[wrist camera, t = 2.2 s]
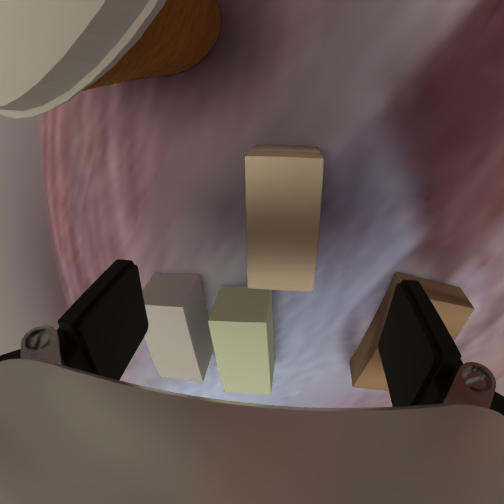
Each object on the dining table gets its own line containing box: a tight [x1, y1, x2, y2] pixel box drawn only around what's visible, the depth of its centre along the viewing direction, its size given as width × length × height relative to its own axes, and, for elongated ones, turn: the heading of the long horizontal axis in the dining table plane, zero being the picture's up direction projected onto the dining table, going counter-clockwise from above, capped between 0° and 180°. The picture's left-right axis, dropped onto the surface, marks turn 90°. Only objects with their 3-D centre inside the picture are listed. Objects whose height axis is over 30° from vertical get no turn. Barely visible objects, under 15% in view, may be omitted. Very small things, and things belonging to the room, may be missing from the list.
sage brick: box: [208, 286, 275, 394], centre depth 21 cm, size 7×4×4 cm, turn 4°
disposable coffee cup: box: [0, 0, 221, 118], centre depth 9 cm, size 10×10×12 cm
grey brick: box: [142, 273, 214, 382], centre depth 21 cm, size 7×4×4 cm, turn 4°
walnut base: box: [350, 272, 474, 391], centre depth 20 cm, size 9×6×3 cm, turn 169°
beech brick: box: [245, 145, 324, 292], centre depth 17 cm, size 7×4×4 cm, turn 0°
